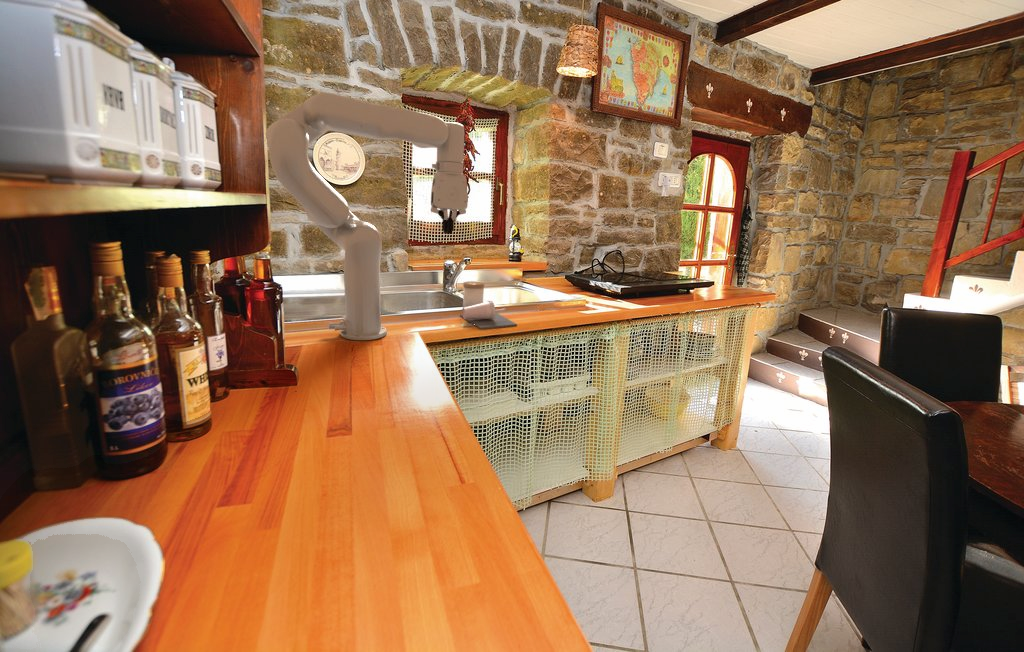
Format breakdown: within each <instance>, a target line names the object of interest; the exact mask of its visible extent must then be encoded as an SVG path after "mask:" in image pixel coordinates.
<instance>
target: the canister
mask: <svg viewBox="0 0 1024 652" xmlns="http://www.w3.org/2000/svg"><path fill="white" fill-rule="evenodd" d="M462 287H463V292H462V293H463V294H462V299H463V300H462V309H463V308H465V307H469V306H473V305H477V304H481V303H484V290H485V282H482V281H481V282H480V281H476V280H475V281H472V280H470V281H469V280H468V281H463V283H462Z"/></svg>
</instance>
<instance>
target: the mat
mask: <svg viewBox="0 0 1024 652" xmlns="http://www.w3.org/2000/svg"><path fill="white" fill-rule="evenodd" d="M459 317H460V318H462V319H463V320H465V321H467V322H468V323H470V324H471V323H472V324H471V325H473V324H475V325H476V326H477V327H478V328H477V327H476V326H475V327H476V328H477V329H479V330H487V329H490V330H491V329H498V328H499V329H500V328H508V327H518V323H516V322H515V321H512V320H511V319H508V318H507V317H505V316H503V315H501V314H499V313H498V312H496V313H495V318H494V319H493V320H489V319H464V318H463V315H462V313H461V314H460V315H459Z"/></svg>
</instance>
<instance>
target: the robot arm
mask: <svg viewBox="0 0 1024 652" xmlns="http://www.w3.org/2000/svg"><path fill="white" fill-rule="evenodd" d="M328 131H329V132H335V133H340V134H346V135H351V136H357V137H361V138H366V139H371V140H378V141H391V140H392V141H393V140H394V141H404V142H405V141H406V142H410V143H411V144H412V145H413V146H415V147H417V148H419V149H426V148H427V149H428V148H429V149H430V148H431V149H433V148H436V161H435V162H434V163H433V162H432V164H431V168H432V169H434V170H435V172H434V174H433V178H432V183H431V184H432V185H431V190H430V191H431V192H430V206H431V208H430V212H431V213H434V214H438V216H439V217H440V219H441V220H442V229H441V230H442V232H443V233H444V234H445V235H453V232H454V231H455V221H456V219H457V218H458V216H460V215H463V214H464V215H465V214H466V213H467V208H468V204H469V203H468V202H469V201H468V198H469V197H468V184H467V183H468V182H467V176H466V174H464V151H465V149H464V147H465V128H464V125H463V124H461V123H459V122H453V121H452V122H451V121H444V120H443V119H442V118H441V117H438V116H436V115H434V114H429V113H424V112H421V111H416V110H412V109H407V108H406V109H405V108H400V107H394V106H389V105H384V104H378V103H373V102H369V101H365V100H359V99H356V98H353V97H347V96H343V95H339V94H335V93H331V92H320V93H319V92H318V93H315V94H314V95H312V96H310V97H308V98H307V99H306V100H305V101H303V102H302V103H301V104H299V105H298V106H297V107H295V108H294V109H292V110H290V111H289V112H288V113H286V114H285V115H283V116H282V117H280V118H279V119H277V120H276V121H274V122H273V123H271V124H270V125H269V126H268V127H267V129H266V131H265V135H266V139H267V143H266V146H267V147H268V151H269V152H268V153H269V155H268V156H269V161H270V166H271V167H272V171H273V173H274V176H275V177H276V179H277V180H278V182H279V183H280V185H281V186H282V187H283V188H284V189H285V190H286V191H287V193H289V194H290V195H291V196H292V197H293V198H294V199H295V200H296V201H297V202H298V203H299V204H300V205H301V206H302V207H303V208H304V213H305V215H306V217H307V218H308V219H309V220H310V222H311V223H313V224H314V225H315V227H317V228H318V229H319V230H320V231H321V232H322V233H323V234H325V235H326V236H327V237H328V238H329V239H330V240H331V241H332V242H333V243H335V245H337V246H338V247H339V248H340V249H342V250H343V251H344V260H343V282H344V283H343V284H344V285H343V286H344V305H345V306H344V309H345V317H342V320H339V321H338V322H337V321H336V322H334V321H332V322H327V329H328V330H334V331H340V336H341V337H342V338H344V339H347V340H353V341H370V340H377V339H381V338H383V337H385V336H386V335H387V331H388V330H387V328H386V327H385V326H382V318H381V317H382V315H381V314H382V311H381V310H382V308H381V259H382V258H381V257H382V250H383V242H382V237H381V234H380V232H379V230H378V229H377V228H376V226H374V225H373V224H371V223H369V222H367V221H364V220H360V219H359V218H358V217H357V216H356V215H355V214H354V213H352V211H350V207H349V203H348V202H347V200H346V199H345V198H344V197H343V196H342V195H341V193H339V192H338V191H336V189H334V188H333V186H331V185H330V184H329V182H327V180H325V179H324V178H323V177H322V175H321V174H320V173H319V172H318V171H317V170H316V169H315V167H314V166H313V165H312V163H311V161H310V159H309V155H308V150H309V149H308V148H309V146H310V145H312V143H314V142H315V141H316V140H318V139H320V137H322V136H323V135H324V134H326V133H327V132H328ZM266 139H265V140H266ZM448 210H449V211H448Z"/></svg>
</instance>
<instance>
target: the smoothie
mask: <svg viewBox="0 0 1024 652" xmlns="http://www.w3.org/2000/svg"><path fill="white" fill-rule="evenodd" d="M501 311H502V312H503V311H506V308H500V309H496V307H495V304H494V302H493V300H487V301H485V302H483V303H481V304H477V305H473V306H469V307H465V308H463V307H462V310H461V314H462V315H463V318H464V319H463V318H462V319H463V320H465V319H489V320H493V319H494V318H495V313H497V312H501Z"/></svg>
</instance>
